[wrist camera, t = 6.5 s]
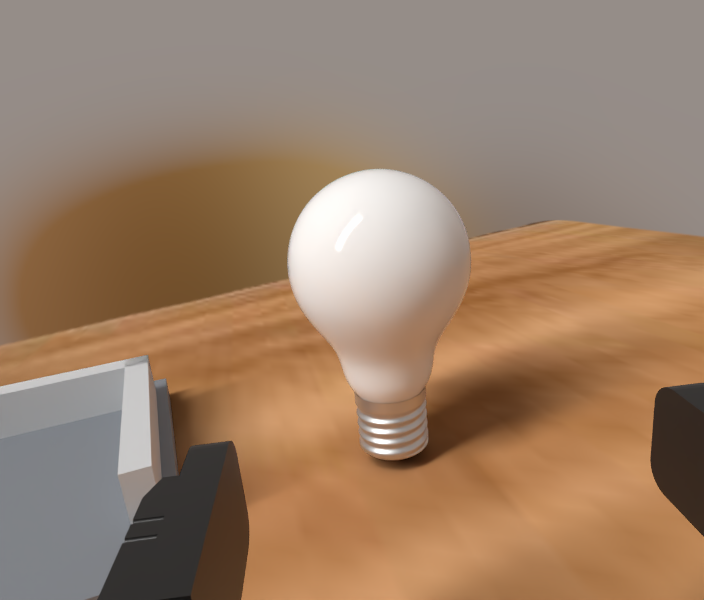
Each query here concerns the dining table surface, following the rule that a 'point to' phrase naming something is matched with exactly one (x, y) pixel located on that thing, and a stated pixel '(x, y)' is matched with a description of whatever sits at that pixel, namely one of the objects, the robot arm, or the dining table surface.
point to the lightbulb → (382, 293)
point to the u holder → (77, 474)
